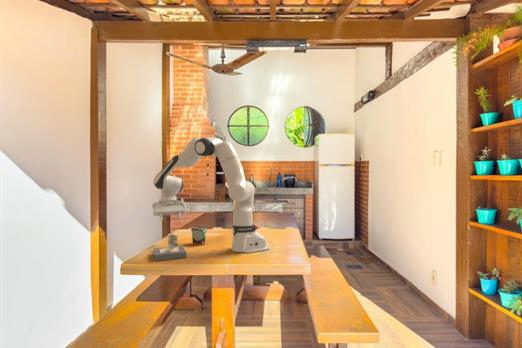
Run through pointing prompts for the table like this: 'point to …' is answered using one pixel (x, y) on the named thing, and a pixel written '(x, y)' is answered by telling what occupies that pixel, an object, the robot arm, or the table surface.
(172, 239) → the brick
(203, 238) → the food container
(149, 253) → the table surface
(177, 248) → the base block
